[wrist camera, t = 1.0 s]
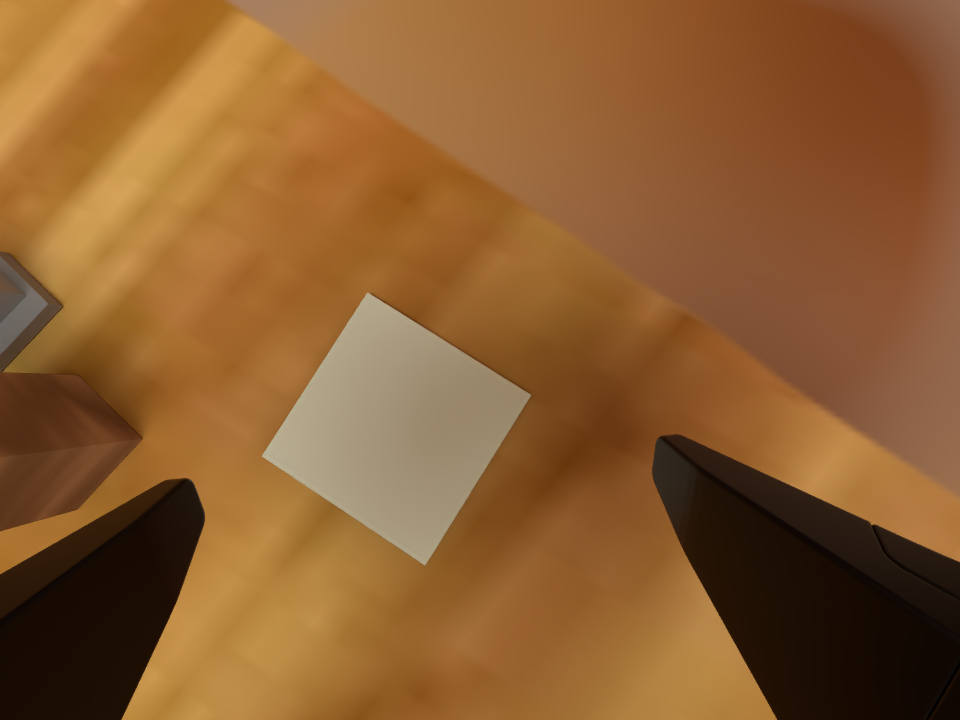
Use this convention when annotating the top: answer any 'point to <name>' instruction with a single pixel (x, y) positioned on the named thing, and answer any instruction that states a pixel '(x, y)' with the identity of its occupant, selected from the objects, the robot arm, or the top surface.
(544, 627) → the top surface
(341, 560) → the top surface
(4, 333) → the screen
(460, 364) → the mat
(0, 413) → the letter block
